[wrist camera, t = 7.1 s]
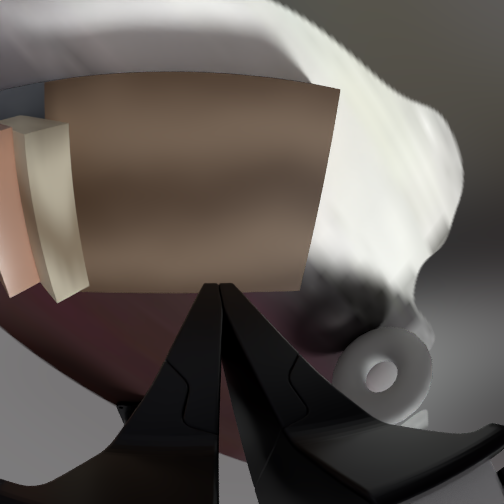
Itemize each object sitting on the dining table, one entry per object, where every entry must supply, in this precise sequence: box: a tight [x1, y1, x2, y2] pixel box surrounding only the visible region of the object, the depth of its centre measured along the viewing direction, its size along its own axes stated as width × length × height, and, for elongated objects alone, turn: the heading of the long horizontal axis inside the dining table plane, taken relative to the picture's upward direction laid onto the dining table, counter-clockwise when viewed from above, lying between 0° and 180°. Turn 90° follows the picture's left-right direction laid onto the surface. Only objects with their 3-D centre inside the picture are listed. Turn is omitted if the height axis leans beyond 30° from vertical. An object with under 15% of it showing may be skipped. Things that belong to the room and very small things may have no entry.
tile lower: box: [0, 115, 89, 303], centre depth 14 cm, size 8×8×2 cm
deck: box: [44, 72, 340, 293], centre depth 17 cm, size 12×14×4 cm
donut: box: [332, 327, 433, 425], centre depth 26 cm, size 10×4×10 cm, turn 128°
